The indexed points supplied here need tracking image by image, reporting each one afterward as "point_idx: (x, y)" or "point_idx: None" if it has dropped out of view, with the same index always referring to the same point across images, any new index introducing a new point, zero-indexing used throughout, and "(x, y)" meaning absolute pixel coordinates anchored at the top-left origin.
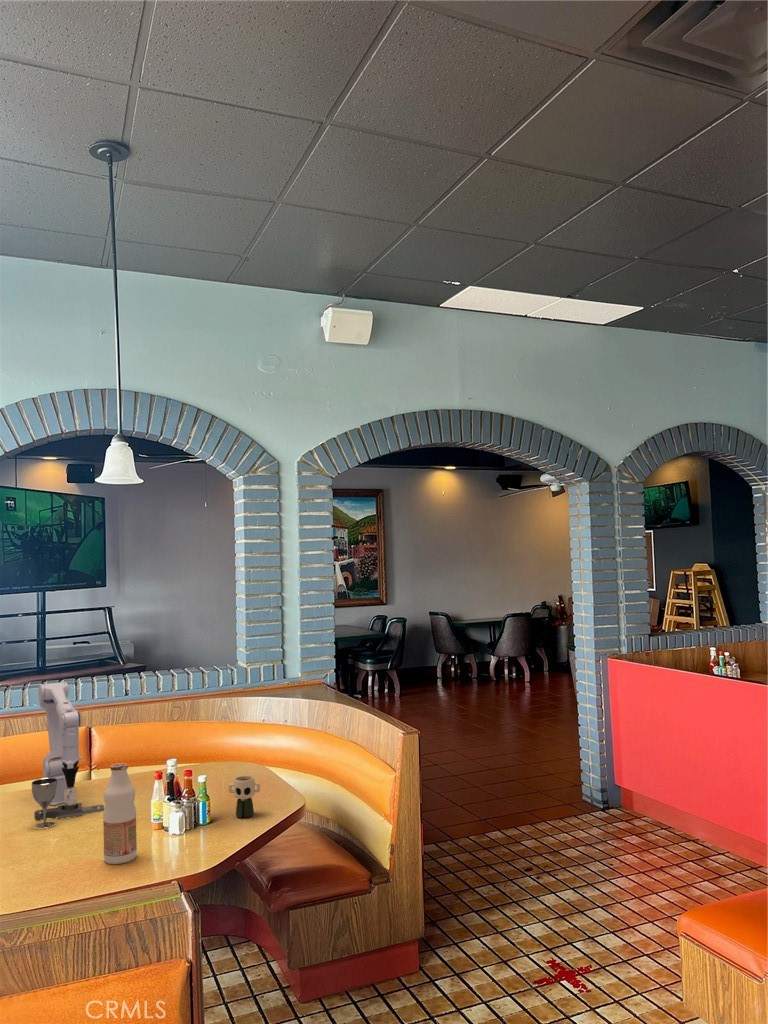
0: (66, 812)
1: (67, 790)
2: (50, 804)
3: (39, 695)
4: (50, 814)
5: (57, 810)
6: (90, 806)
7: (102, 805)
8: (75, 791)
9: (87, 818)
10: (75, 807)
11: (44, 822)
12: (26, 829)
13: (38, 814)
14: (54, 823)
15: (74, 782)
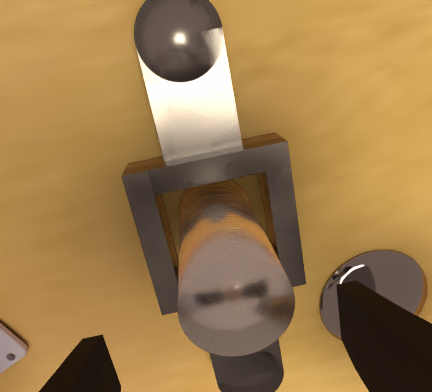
0: (297, 232)
1: (290, 318)
2: (10, 365)
3: None
4: None
5: None
6: (156, 100)
7: (154, 2)
8: (254, 244)
9: (340, 84)
10: (235, 194)
11: None
12: None
13: (282, 372)
14: (369, 259)
15: (391, 301)
